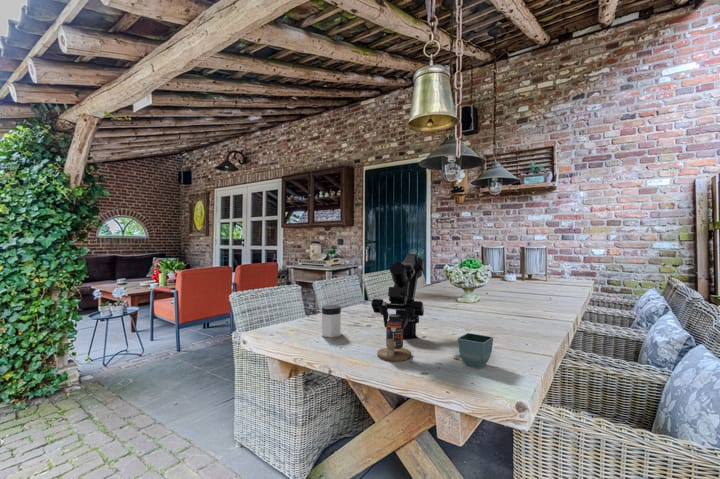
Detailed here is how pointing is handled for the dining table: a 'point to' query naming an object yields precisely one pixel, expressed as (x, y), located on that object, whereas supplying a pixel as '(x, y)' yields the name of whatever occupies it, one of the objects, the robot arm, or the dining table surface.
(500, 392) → the dining table surface
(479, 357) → the flower pot
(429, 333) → the dining table surface
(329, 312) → the jar
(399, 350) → the flange plate
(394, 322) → the supplement bottle
